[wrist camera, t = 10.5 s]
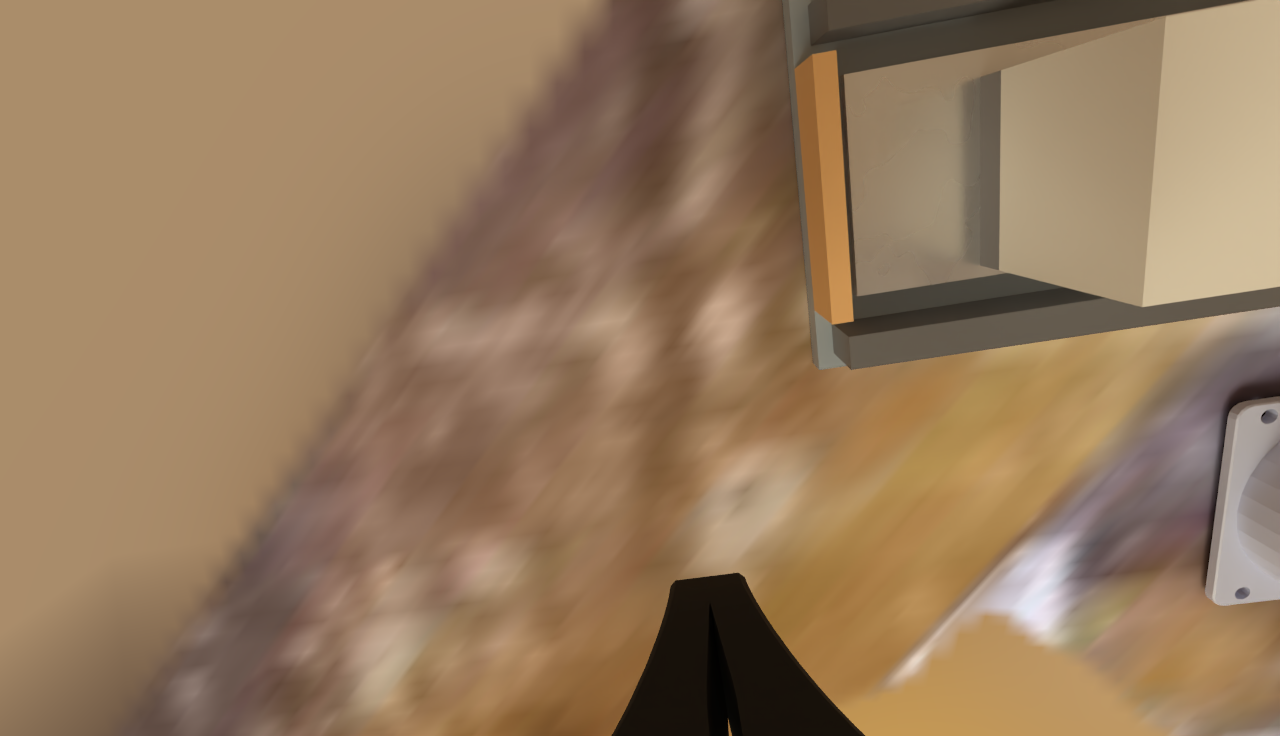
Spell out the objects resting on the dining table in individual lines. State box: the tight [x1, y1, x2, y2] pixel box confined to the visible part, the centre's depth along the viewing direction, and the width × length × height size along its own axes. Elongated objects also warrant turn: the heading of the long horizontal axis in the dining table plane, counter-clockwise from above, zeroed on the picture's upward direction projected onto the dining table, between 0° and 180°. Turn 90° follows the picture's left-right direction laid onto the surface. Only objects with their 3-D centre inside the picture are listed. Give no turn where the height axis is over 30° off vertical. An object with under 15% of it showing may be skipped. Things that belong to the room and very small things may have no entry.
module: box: [980, 0, 1280, 307], centre depth 13 cm, size 4×5×6 cm
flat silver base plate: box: [838, 0, 1255, 296], centre depth 17 cm, size 11×6×1 cm, turn 99°
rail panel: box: [782, 0, 1280, 370], centre depth 17 cm, size 13×11×3 cm
